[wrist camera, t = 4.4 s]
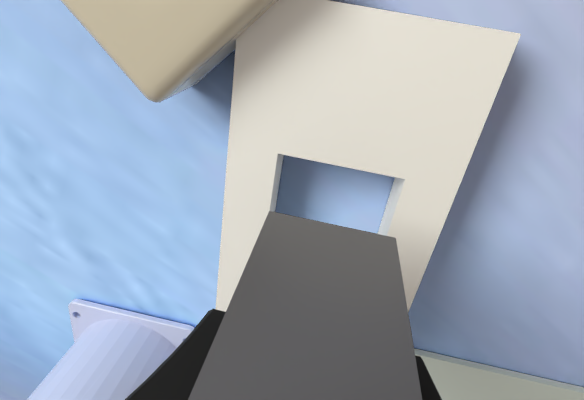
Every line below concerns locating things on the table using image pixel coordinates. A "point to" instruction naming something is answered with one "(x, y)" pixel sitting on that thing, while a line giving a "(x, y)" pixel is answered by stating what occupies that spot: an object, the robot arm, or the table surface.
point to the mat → (491, 381)
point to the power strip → (357, 116)
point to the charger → (314, 320)
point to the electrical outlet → (167, 37)
